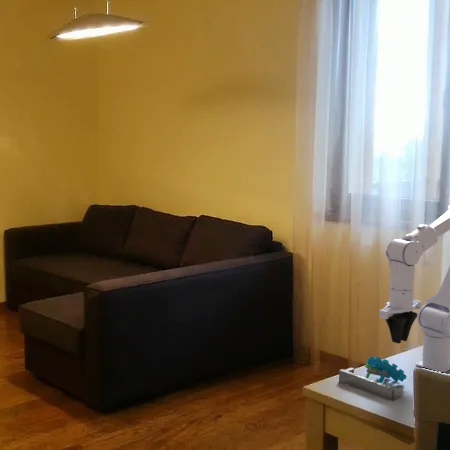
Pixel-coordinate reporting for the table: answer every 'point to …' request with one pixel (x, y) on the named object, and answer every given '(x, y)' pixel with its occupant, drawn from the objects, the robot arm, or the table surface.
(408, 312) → the robot arm
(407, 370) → the table surface
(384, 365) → the gear
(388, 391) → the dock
